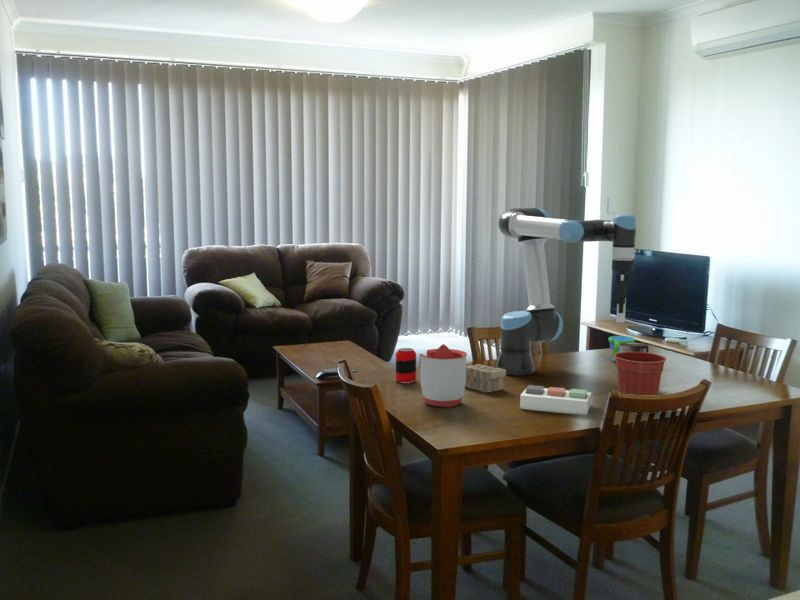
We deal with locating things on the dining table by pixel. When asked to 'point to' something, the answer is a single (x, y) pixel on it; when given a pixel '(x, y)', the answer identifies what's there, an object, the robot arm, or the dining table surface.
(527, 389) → the charcoal key
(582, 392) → the sage key
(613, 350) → the snack cup
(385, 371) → the dining table surface
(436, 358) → the citrus juicer
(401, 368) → the soda can
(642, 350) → the coffee box
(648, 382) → the flower pot
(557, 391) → the brick key
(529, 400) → the key panel
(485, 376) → the block tower
